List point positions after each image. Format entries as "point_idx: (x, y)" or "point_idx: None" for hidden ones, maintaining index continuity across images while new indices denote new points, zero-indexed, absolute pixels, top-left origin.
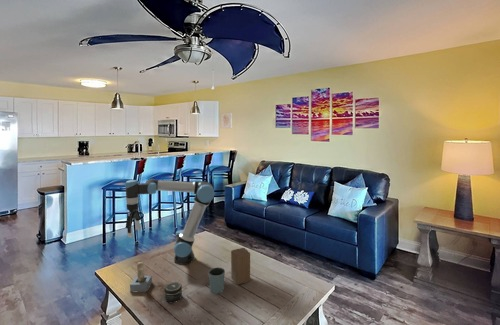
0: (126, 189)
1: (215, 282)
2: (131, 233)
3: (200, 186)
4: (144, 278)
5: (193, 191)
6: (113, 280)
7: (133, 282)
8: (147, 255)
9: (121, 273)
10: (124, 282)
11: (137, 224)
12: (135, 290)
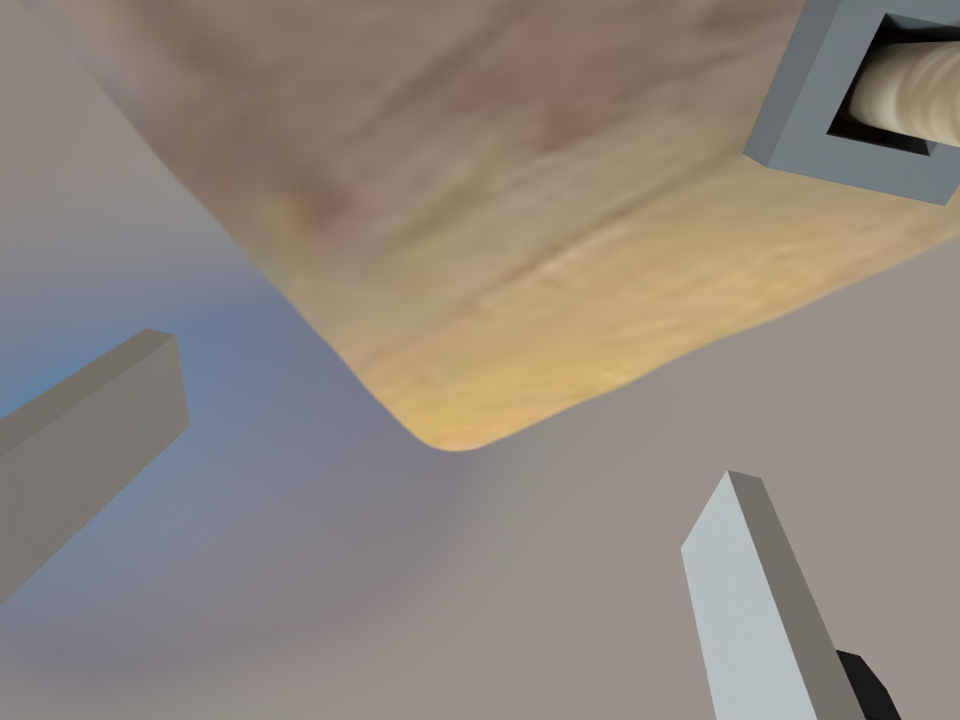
0: None
1: None
2: (800, 590)
3: None
4: (922, 43)
5: None
6: (607, 352)
7: (914, 174)
8: (185, 121)
9: (508, 311)
10: (678, 265)
11: (40, 492)
12: None
